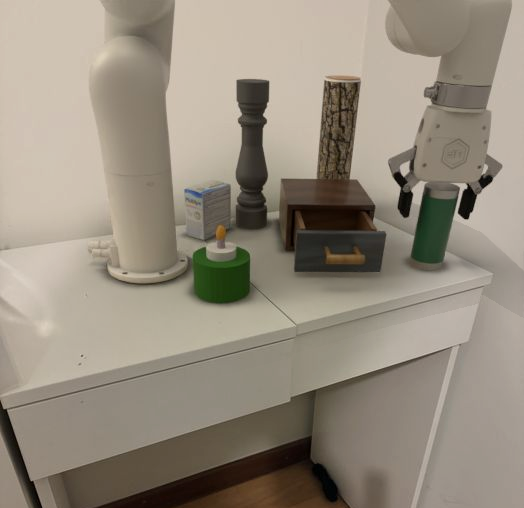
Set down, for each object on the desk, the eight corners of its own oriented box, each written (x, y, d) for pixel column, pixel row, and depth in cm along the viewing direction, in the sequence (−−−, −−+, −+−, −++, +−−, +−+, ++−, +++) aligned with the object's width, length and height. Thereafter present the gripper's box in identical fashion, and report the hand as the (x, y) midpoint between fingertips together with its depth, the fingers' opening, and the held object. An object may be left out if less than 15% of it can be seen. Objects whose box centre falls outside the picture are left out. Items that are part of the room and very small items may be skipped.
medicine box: (213, 224, 101) (212, 178, 96) (231, 229, 98) (231, 183, 94) (185, 235, 95) (183, 188, 90) (204, 241, 93) (202, 193, 88)
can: (414, 270, 85) (430, 190, 77) (405, 257, 89) (420, 181, 82) (446, 270, 85) (465, 191, 78) (436, 257, 89) (453, 181, 82)
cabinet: (368, 251, 91) (375, 205, 86) (285, 251, 90) (287, 204, 86) (352, 221, 104) (357, 179, 99) (278, 220, 103) (280, 178, 99)
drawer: (388, 286, 77) (395, 246, 74) (297, 286, 77) (300, 245, 73) (361, 238, 93) (366, 203, 90) (286, 237, 93) (288, 202, 89)
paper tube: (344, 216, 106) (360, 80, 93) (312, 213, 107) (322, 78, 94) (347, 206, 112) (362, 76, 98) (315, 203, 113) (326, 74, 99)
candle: (192, 303, 73) (189, 236, 68) (195, 278, 80) (192, 215, 75) (251, 303, 74) (252, 236, 68) (248, 278, 81) (249, 215, 75)
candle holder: (238, 217, 104) (238, 78, 91) (268, 219, 104) (273, 79, 90) (232, 227, 99) (231, 81, 85) (264, 230, 98) (268, 83, 85)
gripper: (407, 98, 69) (385, 222, 79) (532, 104, 70) (495, 225, 80) (393, 91, 76) (374, 207, 85) (508, 96, 77) (476, 210, 86)
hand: (433, 215), depth 82 cm, fingers open, 9 cm apart
